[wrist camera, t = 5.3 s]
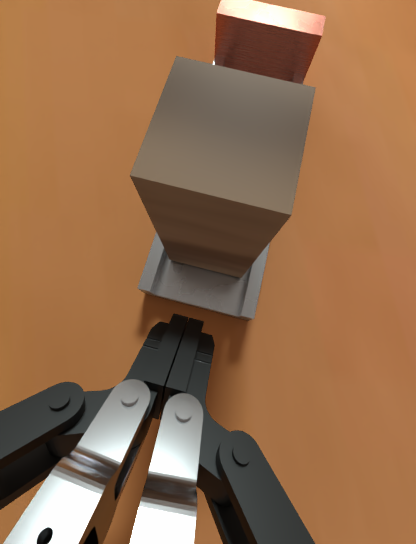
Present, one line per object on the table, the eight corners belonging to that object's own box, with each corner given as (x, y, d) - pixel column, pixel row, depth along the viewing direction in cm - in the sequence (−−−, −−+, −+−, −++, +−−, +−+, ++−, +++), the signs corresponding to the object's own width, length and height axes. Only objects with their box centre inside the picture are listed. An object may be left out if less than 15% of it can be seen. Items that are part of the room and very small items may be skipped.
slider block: (241, 278, 16) (291, 214, 7) (169, 259, 16) (129, 175, 7) (256, 212, 17) (315, 87, 8) (189, 196, 17) (176, 56, 8)
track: (247, 320, 16) (267, 317, 12) (145, 293, 17) (121, 279, 12) (297, 86, 22) (325, 16, 17) (218, 68, 22) (223, -6, 17)
